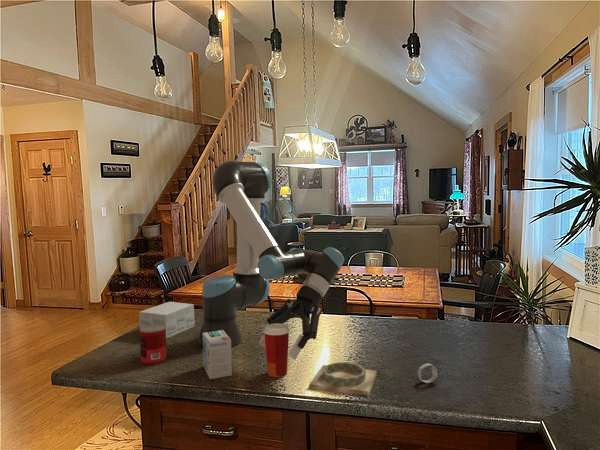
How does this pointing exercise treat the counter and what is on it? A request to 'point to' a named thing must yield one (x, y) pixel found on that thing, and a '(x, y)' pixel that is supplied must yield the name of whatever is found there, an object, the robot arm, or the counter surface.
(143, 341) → the canned food
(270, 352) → the paper cup
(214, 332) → the light bulb box
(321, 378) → the cup holder
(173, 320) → the supplement box
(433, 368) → the grey ring
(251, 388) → the counter surface
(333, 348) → the counter surface
